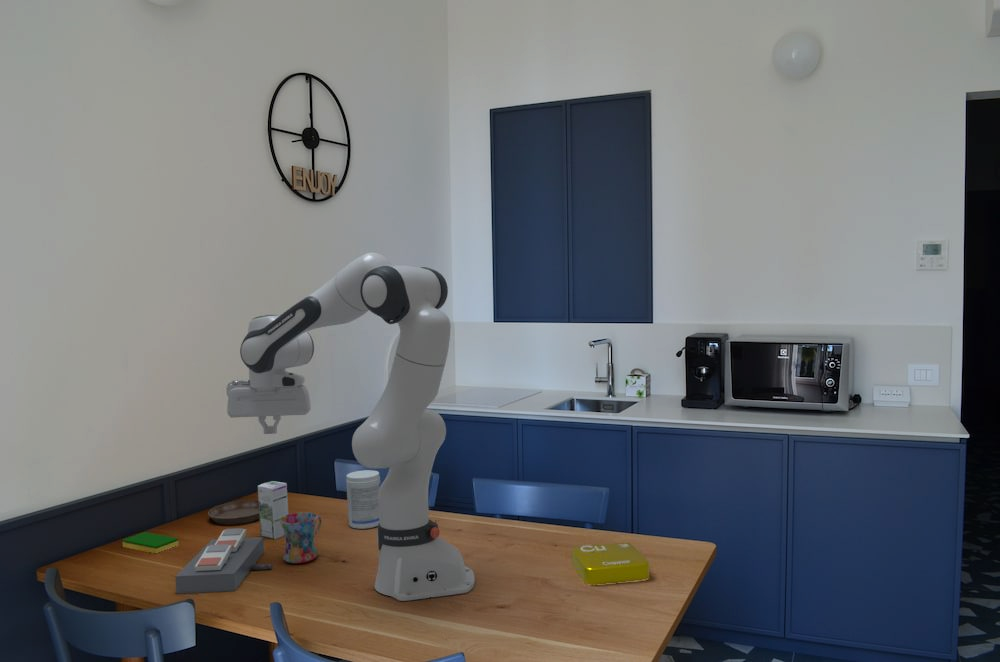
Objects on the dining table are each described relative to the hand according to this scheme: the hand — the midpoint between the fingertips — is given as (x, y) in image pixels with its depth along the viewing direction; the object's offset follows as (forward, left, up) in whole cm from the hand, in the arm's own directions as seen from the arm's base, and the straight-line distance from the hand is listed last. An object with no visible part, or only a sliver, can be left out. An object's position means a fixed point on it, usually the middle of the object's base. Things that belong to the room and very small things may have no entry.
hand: (270, 433), depth 192 cm
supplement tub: (-20, -21, -31) cm, 43 cm away
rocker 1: (+10, +17, -26) cm, 33 cm away
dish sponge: (+36, -11, -32) cm, 49 cm away
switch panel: (+7, +11, -31) cm, 34 cm away
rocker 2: (+10, +5, -26) cm, 28 cm away
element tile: (-82, +23, -32) cm, 91 cm away
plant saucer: (+19, -34, -32) cm, 50 cm away
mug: (-8, +4, -31) cm, 33 cm away
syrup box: (+4, -15, -31) cm, 35 cm away
